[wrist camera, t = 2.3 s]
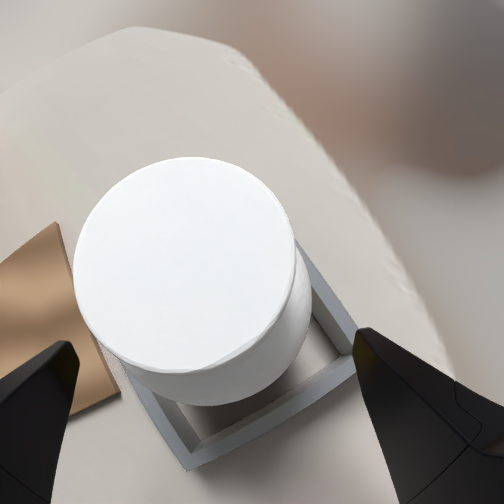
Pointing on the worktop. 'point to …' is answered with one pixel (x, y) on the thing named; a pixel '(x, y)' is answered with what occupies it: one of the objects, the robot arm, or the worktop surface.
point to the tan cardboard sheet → (48, 316)
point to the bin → (276, 412)
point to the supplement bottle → (194, 281)
